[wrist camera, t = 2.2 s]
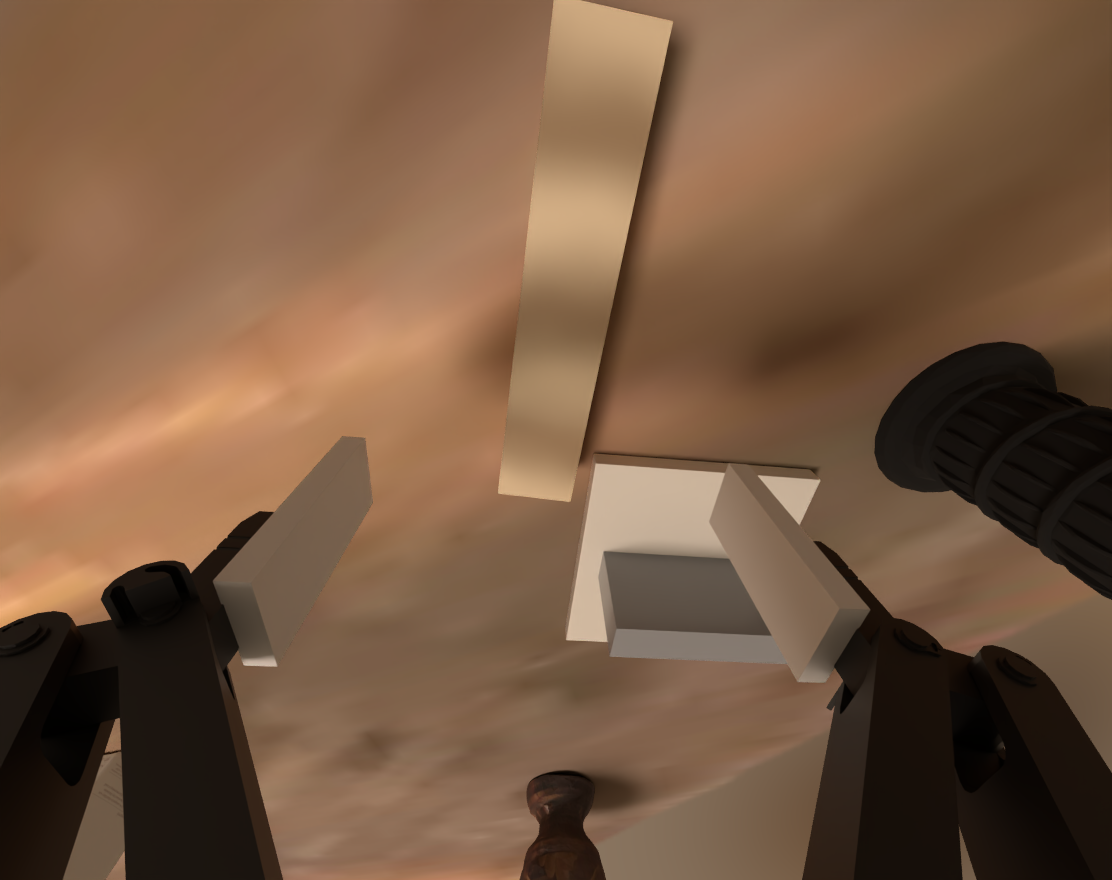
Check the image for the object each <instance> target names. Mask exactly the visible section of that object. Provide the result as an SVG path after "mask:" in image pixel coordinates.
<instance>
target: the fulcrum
mask: <svg viewBox="0 0 1112 880" xmlns="http://www.w3.org/2000/svg"><path fill="white" fill-rule="evenodd" d="M727 466H728V463H716V462H703V461H689V460H676V459H663V458H649V457H636V456H622V455H609V454H596V453H594V455H593V461H592V467H591V473H590V479H589V485H588V491H587V498H586V504H585V510H584V516H583V522H582V528H581V534H580V541H579V547H578V553H577V559H576V565H575V571H574V577H573V583H572V590H571V596H570V602H569V608H568V614H567V620H566V626H565V627H566V640H577V641H600V642H608V649H609V655H610V657H633V658H656V659H680V660H703V661H727V662H751V663H774V664H787V662H786V660H785V658H784V656H783V655H782V653H781V651H780V649H779V647H778V646H777V644H776V642H775V640H774V638H773V637H772V635H771V633H770V631H769V629H768V628H767V626H766V624H765V622H764V620H763V619H762V617H761V615H760V613H759V611H758V610H757V608H756V606H755V604H754V602H753V601H752V599H751V597H750V595H749V593H748V592H747V590H746V588H745V586H744V584H743V583H742V581H741V579H740V577H739V575H738V574H737V572H736V570H735V568H734V566H733V565H732V563H731V561H730V559H729V557H728V556H727V554H726V552H725V550H724V548H723V546H722V545H721V543H720V541H719V539H718V537H717V536H716V534H715V532H714V530H713V528H712V527H711V525H710V523H709V520H710V517H711V514H712V511H713V508H714V505H715V502H716V499H717V496H718V493H719V490H720V487H721V484H722V481H723V478H724V475H725V472H726V469H727ZM749 466H750V467H751V468H752V470H753V471H754V472H755V473H756V474H757V475H758V477H759V478H760V479H761V480H762V481H763V483H764V484H765V485H766V486H767V487H768V489H769V490H770V491H771V492H772V493H773V494H774V496H775V497H776V498H777V499H778V500H779V502H780V503H781V504H782V505H783V506H784V508H785V509H786V510H787V511H788V512H789V513H790V515H791V516H792V517H793V518H794V519H795V521H796V522H797V523H798V524H799V525H800V523H801V521H802V519H803V516H804V514H805V512H806V510H807V508H808V506H809V504H810V502H811V499H812V497H813V495H814V493H815V491H816V489H817V487H818V485H819V482H820V479H819V478H818V477H817V476H816V475H815V474H814V473H813V472H812V471H811V470H810V469H797V468H783V467H770V466H756V465H749Z"/></svg>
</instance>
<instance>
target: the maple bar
mask: <svg viewBox="0 0 1112 880" xmlns="http://www.w3.org/2000/svg"><path fill="white" fill-rule="evenodd" d="M672 24H673V21H670V20H665V19H661V18H656V17H652V16H647V15H643V14H639V13H634V12H630V11H625V10H621V9H616V8H612V7H608V6H603V5H599V4H594V3H590V2H585V1H581V0H554V4H553V13H552V22H551V31H550V40H549V48H548V57H547V66H546V75H545V84H544V92H543V101H542V110H541V119H540V128H539V136H538V145H537V154H536V163H535V172H534V180H533V189H532V198H531V207H530V216H529V224H528V233H527V242H526V251H525V260H524V268H523V277H522V286H521V295H520V304H519V312H518V321H517V330H516V339H515V348H514V356H513V365H512V374H511V383H510V392H509V400H508V409H507V418H506V427H505V436H504V444H503V453H502V462H501V471H500V480H499V488H498V493H499V494H507V495H516V496H524V497H533V498H541V499H550V500H559V501H567V502H570V501H571V496H572V491H573V487H574V482H575V477H576V473H577V468H578V463H579V459H580V454H581V449H582V445H583V440H584V435H585V430H586V426H587V421H588V416H589V412H590V407H591V402H592V398H593V393H594V388H595V384H596V379H597V374H598V370H599V365H600V360H601V356H602V351H603V346H604V342H605V337H606V332H607V328H608V323H609V318H610V314H611V309H612V304H613V300H614V295H615V290H616V286H617V281H618V276H619V272H620V267H621V262H622V258H623V253H624V248H625V244H626V239H627V234H628V230H629V225H630V220H631V216H632V211H633V206H634V202H635V197H636V192H637V188H638V183H639V178H640V173H641V169H642V164H643V159H644V155H645V150H646V145H647V141H648V136H649V131H650V127H651V122H652V117H653V113H654V108H655V103H656V99H657V94H658V89H659V85H660V80H661V75H662V71H663V66H664V61H665V57H666V52H667V47H668V43H669V38H670V33H671V29H672Z"/></svg>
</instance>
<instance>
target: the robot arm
mask: <svg viewBox="0 0 1112 880" xmlns="http://www.w3.org/2000/svg"><path fill="white" fill-rule="evenodd" d="M372 503H373V499H372V491H371V482H370V474H369V466H368V457H367V449H366V441H365V438H360V437H346V436H342V437H341V438H340V440H339V441H338V442H337V443H336V444H335V445H334V446H333V447H332V448H331V450H330V451H329V452H328V453H327V454H326V455H325V456H324V457H323V458H322V460H321V461H320V462H319V463H318V464H317V465H316V466H315V467H314V469H313V470H312V471H311V472H310V473H309V474H308V475H307V476H306V477H305V479H304V480H303V481H302V482H301V483H300V484H299V485H298V486H297V487H296V489H295V490H294V491H293V492H292V493H291V494H290V495H289V496H288V498H287V499H286V500H285V501H284V502H283V503H282V504H281V505H280V506H279V508H278V509H277V510H276V511H275V512H263V511H259V512H258V513H256V514H254V515H252V516H251V517H249V518H247V519H246V520H244V521H242V522H241V523H240V524H239V525H238V526H237V527H236V528H235V529H234V530H233V531H232V532H231V533H230V534H229V535H228V538H225V539H224V540H223V541H222V542H221V543H220V544H219V545H218V546H217V549H216V550H213V551H212V552H211V553H210V554H209V555H208V556H207V557H206V558H205V559H204V560H203V561H202V563H201V564H200V565H199V566H198V567H197V568H196V569H195V570H194V571H193V572H192V573H191V574H190V571H189V569H188V568H187V567H186V565H185V564H184V563H181V562H178V561H158V562H154V563H150V564H145V565H143V566H140V567H138V568H135V569H133V570H130V571H128V572H127V573H125V574H123V575H122V576H120V577H119V578H117V579H115V580H114V581H113V582H112V583H111V584H110V585H109V586H108V587H107V588H106V589H105V590H104V592H103V595H102V598H101V601H102V603H103V604H104V606H105V608H106V610H107V612H108V613H109V615H110V617H111V619H112V620H107V621H102V622H97V623H92V624H86V625H81V626H76V625H75V623H74V621H73V620H72V618H71V617H70V616H69V615H68V614H67V613H63V612H57V611H51V612H44V613H37V614H34V615H31V616H28V617H25V618H21V619H18V620H16V621H14V622H12V623H10V624H8V625H6V626H4V627H1V628H0V880H63V877H64V874H65V871H66V868H67V865H68V862H69V859H70V856H71V853H72V850H73V847H74V844H75V841H76V838H77V835H78V831H79V828H80V825H81V822H82V819H83V816H84V813H85V810H86V807H87V804H88V801H89V798H90V795H91V792H92V789H93V786H94V783H95V780H96V776H97V773H98V770H99V767H100V764H101V761H102V758H103V755H104V752H105V749H106V746H107V743H108V740H109V737H110V734H111V731H112V728H113V725H114V721H115V719H117V718H120V731H121V759H122V787H123V815H124V843H125V871H126V880H283V877H282V874H281V870H280V866H279V862H278V858H277V854H276V850H275V846H274V842H273V838H272V835H271V831H270V827H269V823H268V819H267V815H266V811H265V807H264V803H263V799H262V796H261V792H260V788H259V784H258V780H257V776H256V772H255V768H254V764H253V760H252V757H251V753H250V749H249V745H248V741H247V737H246V733H245V729H244V725H243V721H242V718H241V714H240V710H239V706H238V702H237V698H236V694H235V690H234V686H233V683H232V679H231V675H230V672H229V669H228V667H227V665H228V663H229V662H230V660H231V659H232V658H233V656H234V655H235V653H236V652H237V650H238V651H239V653H240V656H241V659H242V662H243V664H244V665H245V666H278V665H279V663H280V661H281V659H282V658H283V656H284V654H285V653H286V651H287V649H288V647H289V646H290V644H291V642H292V641H293V639H294V637H295V635H296V634H297V632H298V630H299V629H300V627H301V625H302V623H303V622H304V620H305V618H306V617H307V615H308V613H309V611H310V610H311V608H312V606H313V605H314V603H315V601H316V599H317V598H318V596H319V594H320V592H321V591H322V589H323V587H324V586H325V584H326V582H327V580H328V579H329V577H330V575H331V574H332V572H333V570H334V568H335V567H336V565H337V563H338V562H339V560H340V558H341V556H342V555H343V553H344V551H345V550H346V548H347V546H348V544H349V543H350V541H351V539H352V538H353V536H354V534H355V532H356V531H357V529H358V527H359V526H360V524H361V522H362V520H363V519H364V517H365V515H366V514H367V512H368V510H369V508H370V507H371V505H372ZM709 523H710V525H711V527H712V528H713V530H714V532H715V534H716V536H717V537H718V539H719V541H720V543H721V545H722V546H723V548H724V550H725V552H726V554H727V556H728V557H729V559H730V561H731V563H732V565H733V566H734V568H735V570H736V572H737V574H738V575H739V577H740V579H741V581H742V583H743V584H744V586H745V588H746V590H747V592H748V593H749V595H750V597H751V599H752V601H753V602H754V604H755V606H756V608H757V610H758V611H759V613H760V615H761V617H762V619H763V620H764V622H765V624H766V626H767V628H768V629H769V631H770V633H771V635H772V637H773V638H774V640H775V642H776V644H777V646H778V647H779V649H780V651H781V653H782V655H783V656H784V658H785V660H786V662H787V664H788V666H789V667H790V669H791V671H792V673H793V675H794V676H795V678H796V680H797V682H819V683H825V682H826V680H827V679H828V677H829V676H830V674H831V672H832V671H833V669H834V668H835V669H836V670H837V672H838V673H839V675H840V676H841V678H842V679H843V683H842V684H841V686H840V687H839V689H838V690H837V692H836V693H835V695H834V696H833V698H832V699H831V701H830V702H829V704H828V706H827V707H826V708H828V709H829V710H832V708H833V707H834V706H835V708H834V713H833V719H832V724H831V729H830V735H829V740H828V745H827V751H826V756H825V761H824V767H823V772H822V777H821V782H820V788H819V793H818V798H817V804H816V809H815V814H814V820H813V825H812V830H811V836H810V841H809V847H808V851H807V857H806V862H805V867H804V873H803V878H802V880H962V866H961V851H960V837H959V827H960V829H961V833H962V836H963V839H964V842H965V845H966V848H967V851H968V854H969V857H970V861H971V863H972V867H973V870H974V873H975V876H976V879H977V880H1112V773H1111V771H1110V769H1109V768H1108V766H1107V765H1106V763H1105V762H1104V760H1103V759H1102V757H1101V755H1100V754H1099V752H1098V751H1097V749H1096V748H1095V746H1094V745H1093V743H1092V742H1091V740H1090V738H1089V737H1088V735H1087V734H1086V732H1085V731H1084V729H1083V728H1082V726H1081V725H1080V723H1079V721H1078V720H1077V718H1076V717H1075V715H1074V714H1073V712H1072V711H1071V709H1070V707H1069V706H1068V704H1067V703H1066V701H1065V700H1064V698H1063V697H1062V695H1061V693H1060V692H1059V690H1058V689H1057V687H1056V686H1055V684H1054V683H1053V682H1052V681H1051V679H1050V678H1049V677H1048V676H1047V675H1046V673H1044V672H1043V671H1042V670H1041V669H1039V668H1038V667H1037V666H1036V665H1035V664H1033V663H1032V662H1031V661H1029V660H1028V659H1025V658H1024V657H1023V656H1021V655H1019V654H1017V653H1014V652H1012V651H1010V650H1008V649H1005V648H1002V647H998V646H994V645H989V646H983V647H982V649H981V650H980V651H979V652H978V653H977V655H976V656H975V657H971V656H967V655H964V654H960V653H957V652H954V651H950V650H947V649H943V647H942V646H941V645H940V644H939V642H938V641H937V640H936V639H935V638H934V637H932V636H931V635H930V634H929V633H928V632H926V631H925V630H923V629H922V628H920V627H918V626H916V625H915V624H913V623H910V622H907V621H905V620H902V619H897V618H893V617H892V616H891V614H890V613H889V612H888V611H887V610H886V609H885V608H884V606H883V605H882V604H881V603H880V602H879V601H878V600H877V598H876V597H875V596H874V595H873V594H872V593H871V592H870V591H869V589H868V588H867V587H866V586H865V585H864V584H863V583H862V581H861V580H858V577H857V576H856V575H855V574H854V572H853V571H852V570H851V569H848V566H847V564H846V563H845V562H844V561H843V560H842V559H841V558H840V557H839V555H838V554H837V553H835V552H834V551H833V550H831V549H830V548H829V547H827V546H826V545H824V544H823V543H822V542H819V541H812V540H811V538H810V537H809V536H808V535H807V534H806V532H805V531H804V530H803V529H802V528H801V527H800V525H799V524H798V523H797V522H796V521H795V519H794V518H793V517H792V516H791V515H790V513H789V512H788V511H787V510H786V509H785V508H784V506H783V505H782V504H781V503H780V502H779V500H778V499H777V498H776V497H775V496H774V494H773V493H772V492H771V491H770V490H769V489H768V487H767V486H766V485H765V484H764V483H763V481H762V480H761V479H760V478H759V477H758V475H757V474H756V473H755V472H754V471H753V470H752V468H751V467H750V466H749V465H748V464H734V463H728V466H727V469H726V472H725V475H724V478H723V481H722V484H721V487H720V490H719V493H718V496H717V499H716V502H715V505H714V508H713V511H712V514H711V517H710V520H709ZM1004 746H1005V749H1004Z"/></svg>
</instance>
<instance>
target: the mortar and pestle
mask: <svg viewBox="0 0 1112 880" xmlns="http://www.w3.org/2000/svg"><path fill="white" fill-rule="evenodd" d="M594 790H595V788H594V785H593V784H592V782H590V781H588V780H587V779H585V778H583V777H581V776H572V775H544V776H540V777H539V778H535V779H533V780H532V781H531V782H530V783H529V785H528V787H527V803H528V807H529V810H530V813H531V814H532V815H533V816H534V817H536V819H537V821H538V822H539V824H540V828H539V835H538V837H537V839H536V840H535V841H534V843H533V844H532V845H531V846H530V847H529V849H528V851H527V853H526V856H525V860H524V866H523V870H522V873H521V877H520V880H606V878H605V873H604V870H603V867H602V863H601V860H600V855H599V852H598V850H597V849H596V847H595V846H594V844H593V843H592V842H591V841H590V839H589V838H588V837H587V836H586V834H585V832H584V829H583V822H584V819H585V817H586V816H587V814H588V813H589V811H590V809H591V806H592V803H593V798H594Z"/></svg>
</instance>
